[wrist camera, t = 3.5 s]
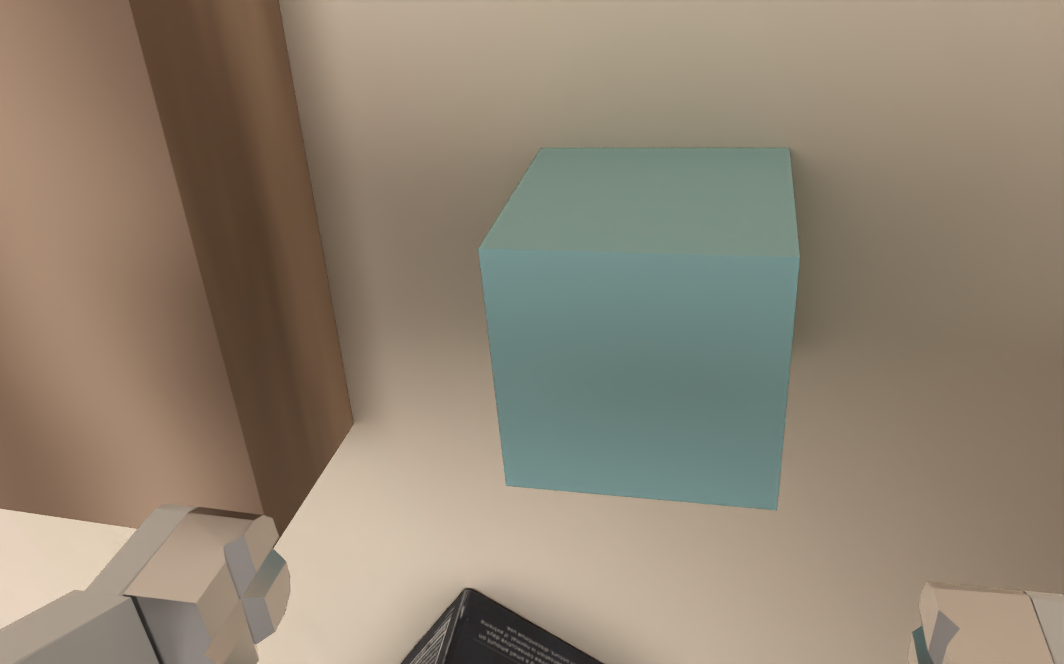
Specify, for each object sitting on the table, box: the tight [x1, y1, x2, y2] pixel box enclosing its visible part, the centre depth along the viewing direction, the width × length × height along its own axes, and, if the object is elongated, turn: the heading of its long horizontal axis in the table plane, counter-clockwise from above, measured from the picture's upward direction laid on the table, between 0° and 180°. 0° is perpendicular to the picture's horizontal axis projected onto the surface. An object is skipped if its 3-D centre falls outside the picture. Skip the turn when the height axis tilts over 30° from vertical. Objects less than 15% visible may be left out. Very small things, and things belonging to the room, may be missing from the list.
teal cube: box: [478, 148, 800, 510], centre depth 17 cm, size 5×5×5 cm
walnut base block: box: [0, 0, 353, 548], centre depth 20 cm, size 12×12×5 cm
